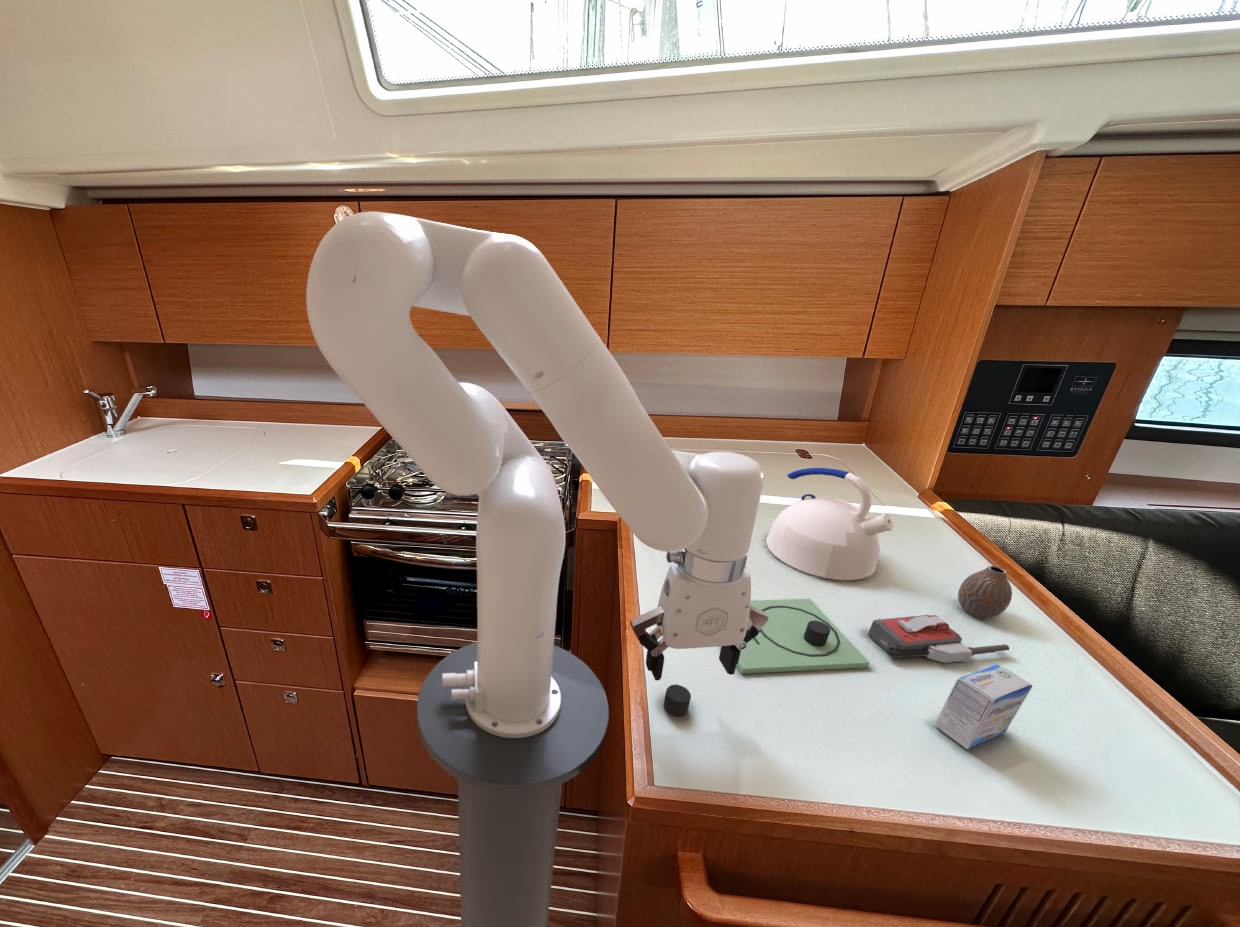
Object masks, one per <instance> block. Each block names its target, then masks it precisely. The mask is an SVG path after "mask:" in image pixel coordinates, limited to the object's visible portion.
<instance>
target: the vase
mask: <svg viewBox="0 0 1240 927" xmlns="http://www.w3.org/2000/svg"><path fill="white" fill-rule="evenodd" d="M1012 597H1013V589H1012V586H1011V584H1010V581H1009V580H1008V577H1007V571H1006V570H1005V569H1004V568H1002V567H1000V566H996V565H989V566H987V567H986V568H984V569H981V570H979V571H976V572H974V573H972V574H970V575H968V576H967V577H966V578H965V579H964V580H963V582H962V583H961V585H960V586H959V589H958V593H957V600H958V603H959V605H960V606H961V608H962V609H963V611H965V612H966V613H967V614H969V615H971V616H973V617H976V618H980V619H992V618H995V617H997V616H1000V615H1002V613H1004V612H1005V611H1006V610H1007V609H1008V607H1009V605H1010V604H1011V601H1012Z"/></svg>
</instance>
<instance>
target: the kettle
mask: <svg viewBox="0 0 1240 927" xmlns="http://www.w3.org/2000/svg"><path fill="white" fill-rule="evenodd" d="M813 475H814V476H815V475H816V476H819V475H820V476H830V477H836V478H840V479H842V480H843V479H844V480H846V481H848V482H849V483H852V484H853V486H854V487H855V488H856V489H857V491H858V493H859V495H860V503H859V504H860V505H859V506H857V505H855V504H852V503H851V502H848V501H846V500H843V499H840V498H835V497H830V496H815V495H814V494H812V493H807V494H804V495H802V496H801V500H797V501H796V502H794V503H792V504H790V505H789V506H787V507H786V508H784V509H783V510H782V511H781V512H780V513H779V515H778V516H777V517H776V518H775V519H774V520H773V522H772V525H771V528H770V531H769V533H768V535H767V538H766V539H765V540H766V545H767V548H768V550H769V551H770V553H772V554H773V555H774V557H775V558H776V559H778V560H779V561H781V562H782V563H784V564H786V565H787V566H789V567H791V568H792V569H795V570H797V571H800V572H802V573H805V574H807V575H810V576H814V577H817V578H822V579H825V580H833V581H844V582H845V581H851V582H852V581H857V580H862V579H866V578H868V577H870V576H871V575H873V574H874V572H875V571H876V570H877V563H878V561H879V560H878V559H879V555H880V552H881V550H880V549H881V548H880V539H879V534H881V533H884V532H891V531H892V530H893V529H894V523H893V519H892V517H891V516H890V514H888V513H882V514H880V515H876V516H872V517H869V516H868V514H869V512H870V509H871V507H872V495H871V493H870V490H869V488H868V486H867V484H865V482H864V481H863V480H862V479H861V478H860V477H858V476H857V475H855V474H853V473H851V472H849V471H846V470H842V469H838V468H837V469H836V468H828V467H809V468H802V469H798V470H794V471H791V472H789V473H787V475H786V476H787V478H788V479H790V480H796V479H798V478H802V477H805V476H813ZM806 497H808V498H806Z"/></svg>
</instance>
